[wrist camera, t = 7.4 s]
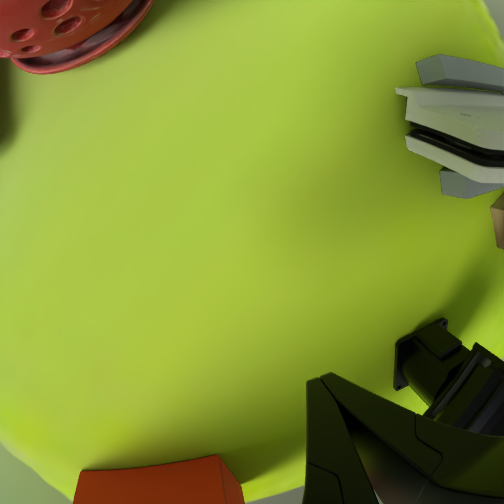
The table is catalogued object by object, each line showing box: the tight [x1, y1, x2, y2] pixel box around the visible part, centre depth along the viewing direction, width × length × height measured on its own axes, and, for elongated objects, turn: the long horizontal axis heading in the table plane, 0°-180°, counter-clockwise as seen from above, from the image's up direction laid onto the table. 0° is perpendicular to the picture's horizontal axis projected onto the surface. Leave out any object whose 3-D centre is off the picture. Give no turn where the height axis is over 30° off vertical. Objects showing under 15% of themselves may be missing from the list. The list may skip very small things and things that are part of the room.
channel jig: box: [416, 54, 504, 199], centre depth 18 cm, size 11×16×4 cm
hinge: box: [396, 87, 504, 183], centre depth 16 cm, size 17×5×10 cm, turn 104°
